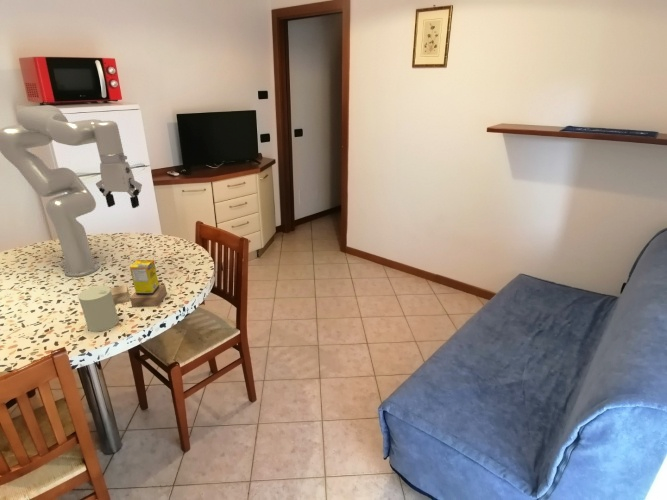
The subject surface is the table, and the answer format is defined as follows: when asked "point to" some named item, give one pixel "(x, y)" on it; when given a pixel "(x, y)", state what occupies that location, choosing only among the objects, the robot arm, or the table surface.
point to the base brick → (149, 298)
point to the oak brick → (120, 294)
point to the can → (98, 308)
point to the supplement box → (144, 277)
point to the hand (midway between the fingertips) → (123, 206)
